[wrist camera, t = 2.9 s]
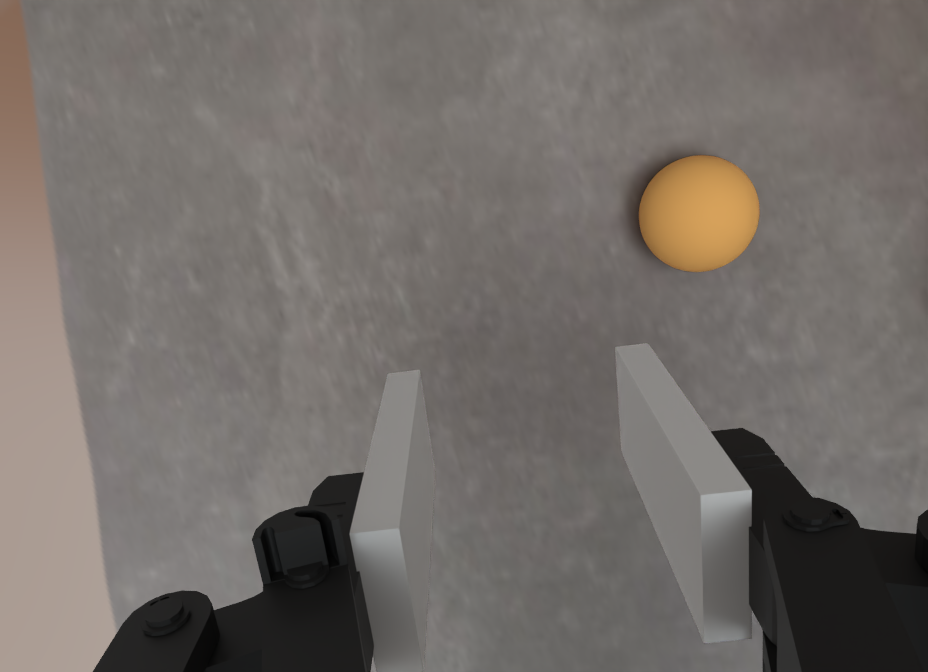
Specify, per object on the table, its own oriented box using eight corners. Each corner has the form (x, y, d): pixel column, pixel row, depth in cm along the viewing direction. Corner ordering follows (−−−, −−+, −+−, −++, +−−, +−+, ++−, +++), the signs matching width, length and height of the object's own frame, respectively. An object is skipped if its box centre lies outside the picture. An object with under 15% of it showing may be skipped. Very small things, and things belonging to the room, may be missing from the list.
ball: (630, 263, 40) (656, 291, 35) (625, 157, 38) (651, 169, 33) (736, 250, 40) (778, 277, 35) (735, 143, 38) (779, 154, 33)
